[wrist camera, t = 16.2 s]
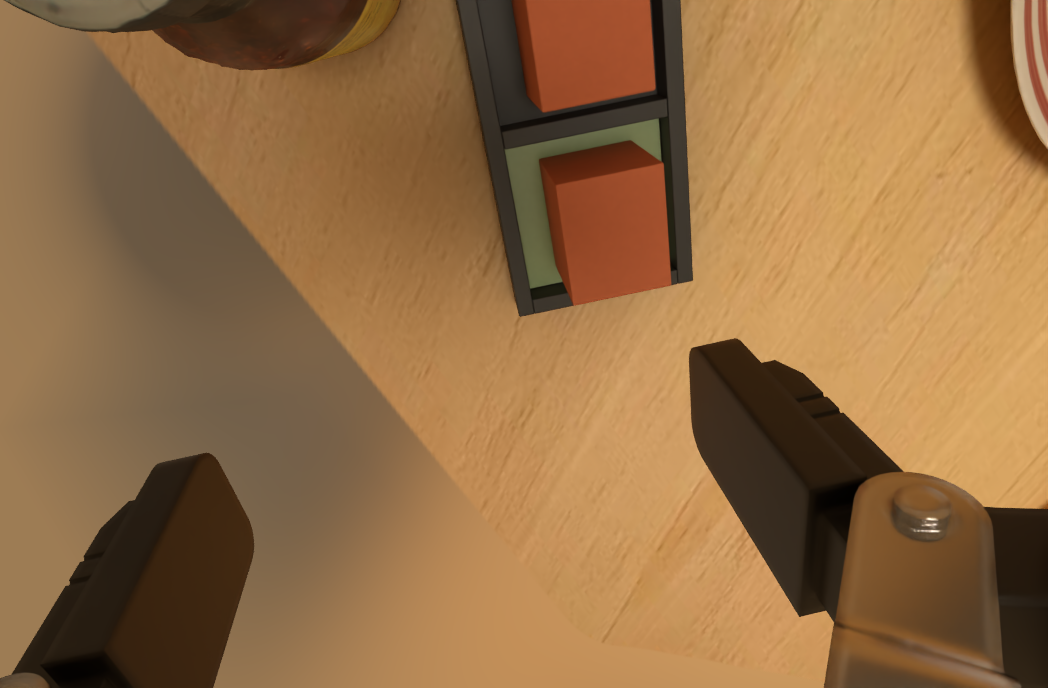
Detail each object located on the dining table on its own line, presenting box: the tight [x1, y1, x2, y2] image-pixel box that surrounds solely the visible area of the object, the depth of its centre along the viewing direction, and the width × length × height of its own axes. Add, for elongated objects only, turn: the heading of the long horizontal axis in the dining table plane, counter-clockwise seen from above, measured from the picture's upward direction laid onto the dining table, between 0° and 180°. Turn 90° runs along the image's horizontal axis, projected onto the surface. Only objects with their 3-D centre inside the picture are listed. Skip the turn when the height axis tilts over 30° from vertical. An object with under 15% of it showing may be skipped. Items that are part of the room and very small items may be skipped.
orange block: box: [539, 140, 671, 305], centre depth 29 cm, size 4×6×5 cm
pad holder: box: [456, 0, 693, 317], centre depth 29 cm, size 9×17×2 cm, turn 10°
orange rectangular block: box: [511, 0, 656, 113], centre depth 25 cm, size 4×6×5 cm
